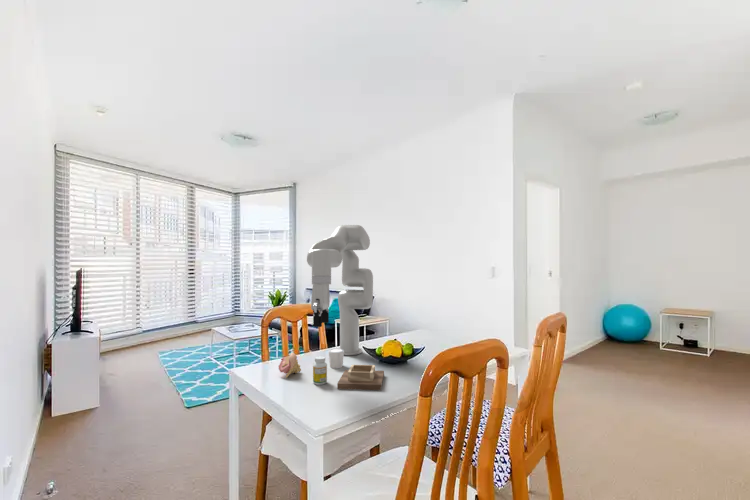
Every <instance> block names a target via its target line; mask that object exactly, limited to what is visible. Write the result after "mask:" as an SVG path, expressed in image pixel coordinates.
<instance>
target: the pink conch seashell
mask: <svg viewBox="0 0 750 500" xmlns="http://www.w3.org/2000/svg"><path fill="white" fill-rule="evenodd" d="M278 370H279V372H280V373H283V374H286V375H285V379H287V378H288V377H289V376H290V375H292V374H293V373H294V374H297V373H300V372H301V371H302V368H301V365H300V363H299V361H298V357H297V354H296V353H294V352H291V353H290V354H289V355H287V356H283V357H282V358H281V361H280V362H279V365H278Z"/></svg>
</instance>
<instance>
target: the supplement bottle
mask: <svg viewBox="0 0 750 500" xmlns="http://www.w3.org/2000/svg"><path fill="white" fill-rule="evenodd" d="M312 369H313V370H312V383H313V384H314V385H318V386H321V385H326V384H327V382H328V364H327V362H326V357H325V356H323V355H321V356H315V357H314V363H313V365H312Z"/></svg>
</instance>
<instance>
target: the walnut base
mask: <svg viewBox="0 0 750 500" xmlns="http://www.w3.org/2000/svg"><path fill="white" fill-rule="evenodd" d="M384 378H385V371H384V370H376V365H374V364H351V365H350V366H349V369H344V371H343V372H342V375H341V376H340V378H339V380H338V381H337V384H336V385H337V387H336V389H337V390H360V391H381V390H382V386H383V382H384Z"/></svg>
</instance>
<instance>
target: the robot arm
mask: <svg viewBox="0 0 750 500" xmlns="http://www.w3.org/2000/svg"><path fill="white" fill-rule="evenodd" d="M370 244H371V240H370V236H369V234H368V232H367V231H366V229H365V227H363V226H362V225H359V224H344V225H343V224H342V225H339V226H337V227H336V228H335V229H334V230H333V232H332V234H331V235H330V236H329V237H327V238H324V239H322V240H320V241H317V242H316V243H313V245H312V246H311V248H310V249H309V250H308V252H307V255H306V262H307V265H308V266H309V267H311V285H312V289H311V301H310V302H311V303H310V304H311V305H310V310H312V313H313V314H312V317H313V318H312V319H313V320H312V323H313V324H312V325H313V326H312V327H315V328H322V326H323V323H324V324H328V323H329V322H330V321H329V320H330V319H329V312H330V311H329V307H330V285H332V268H338V267H339V266H340V265H341V266H342V267H341V282H342V283H341V284H342V285H343V286H345V287H347V288H363V289H343V290H341V291H340V292H339V293H338V295H337V302H338V307H339V349H343V350H344V356H356V355H360V354H361V353H362V352H363V349H362V348H360V344H359V343H360V337H359V336H360V325H359V324H360V320H359V319H360V317H359V315H358V313H357V312H356V310H369V309H371V308H372V306H373V302H374V301H373V300H374V293H373V292H374V275H373V272H372V270H371V269H369V268H366V267H365V268H363V267H362V268H360V259H359V257H358V254H357V253H355V251H366V250H368V249H369V248H370Z"/></svg>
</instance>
